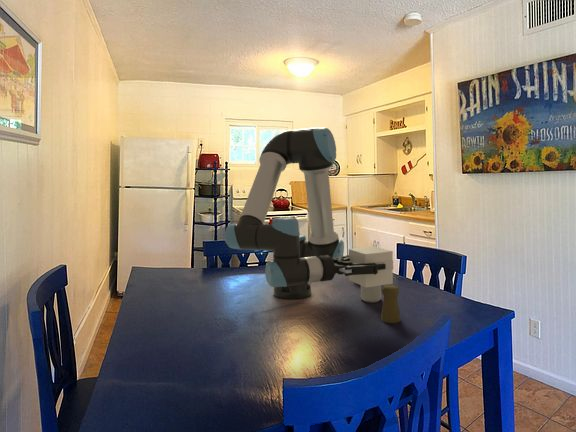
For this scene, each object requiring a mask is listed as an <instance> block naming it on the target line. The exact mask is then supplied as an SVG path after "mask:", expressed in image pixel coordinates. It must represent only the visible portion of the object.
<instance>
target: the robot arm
mask: <svg viewBox="0 0 576 432" xmlns="http://www.w3.org/2000/svg"><path fill="white" fill-rule="evenodd" d="M336 159H337V146H336V141H335V137H334V135H333V133H332V131H331V129H329V128H327V127H308V128H299V129H298V128H297V129H288V130H283V131H281V132H280V133H278V134H276V135H275V136H274V137H272V139H270V141H268V143H267V144H266V145H265V147H264V148H263V150H262V151H261V153H260V156H259V167H258V170H257V173H256V174H255V177H254V180H253V183H252V186H251V188H250V191H249V192H248V196H247V198H246V201H245V203H244V206H243V209H242V211H241V214H240V217H239V218H238V221H237V223H236V222H235V223H231V224H229V225H227V226H226V228H225V230H224V231H225V232H224V240H225V241H224V242H225V243H226V245H227V247H228V248H230V249H234V250H241V251H242V250H243V251H244V250H247V251H248V250H251V251H253V250H254V251H255V250H257V251H272V252H273V253H272V255H273V256H272V257H273V258H272V260H270V261H267V262H266V264H265V268H264V271H265V272H264V273H265V278H266V282H267V284H268V285H269V286H270V287H271V288H273V295H274V296H275V297H276V296H277V297H276V298H279V297H280V299H284V298H285V299H284V300H298V299H303V298H306V297H309V296H311V294H312V287H311V285H312V283H319V282H321V283H322V282H327V281H332V280H333V279H334V278H335V276H336V275H344V276H346V277H349V276H350V275H362V274H374V275H376V274H378V271H383V270H391V269H393V270H394V259H393V260H387V261H378V262H373V263H366V264H365V263H352V262H351V261H350V258H349V254H346V255H344V253H345V243H344V241H343V240H342V239H339V234H338V233H337V232H336V231H335V230H334V229H335V228H334V219H333V209H332V208H333V207H332V198H331V197H332V196H331V195H332V194H331V186H330V175H329V171H330V169H331V168H332V167H333V162H335V161H336ZM290 164H298V170H299V171H301V172H302V173H303V175H304V182H305V183H304V185H305V193H306V201H307V209H308V217H309V218H308V219H309V226H310V234H309V235H308V237H306V235H304V234H303V235H302V234H300V227H299V226H300V225H299V220H298V219H297V218H296V217H293V216H292V217H290V216H284V217H283V216H282V217H274V218H272V221H271V223H265V221H266V219H267V215H268V212H269V209H270V206H271V202H272V199H273V196H274V195H275V192H276V190H277V189H276V188H277V186H278V183H279V180H280V177H281V173H282V172H283V171H285V170H286V168H287V166H288V165H290Z"/></svg>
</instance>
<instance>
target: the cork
mask: <svg viewBox="0 0 576 432" xmlns="http://www.w3.org/2000/svg"><path fill="white" fill-rule="evenodd" d="M399 294H400V290H399V287H397V286H396V285H393V284H386V285H383V286H382V288H381V295H383V300H382V308H381V316H380V320H381V322H384V323H387V324H398V323H400V322H401V315H400V308H399V307H400V306H399V301H398V300H399V299H398V297H399Z"/></svg>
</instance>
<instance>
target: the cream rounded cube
mask: <svg viewBox="0 0 576 432" xmlns="http://www.w3.org/2000/svg"><path fill="white" fill-rule="evenodd" d="M348 255H349V258H350V261H351V262H352V263H365V264H366V263H373V262H378V261H387V260H393V261H394V259H393V257H394V256H393V255H394V254H393V250H390V249H385V248H381V247H379V246H378V247H377V246H376V245H375V246H366V247H365V246H364V247H357V248H355V247H354V248H349V249H348ZM393 270H394V268H393V269H391V270H383V271H378V274H376V275H374V274H362V275H350V276H348V280H349V281H351V282H353V283H355V284H356V285H360V287H361V286H363V287H373V286H379V285H381V286H386V285H393V284H394V282H393V281H394V279H393V275H394V273H393Z"/></svg>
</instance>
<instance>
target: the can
mask: <svg viewBox="0 0 576 432" xmlns="http://www.w3.org/2000/svg"><path fill="white" fill-rule="evenodd" d="M360 298H361V299H362V300H363V302H365V303H378V302H379V301H380V300H381V299H382V285H379V286H373V287H363V286H361V285H360Z"/></svg>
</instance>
